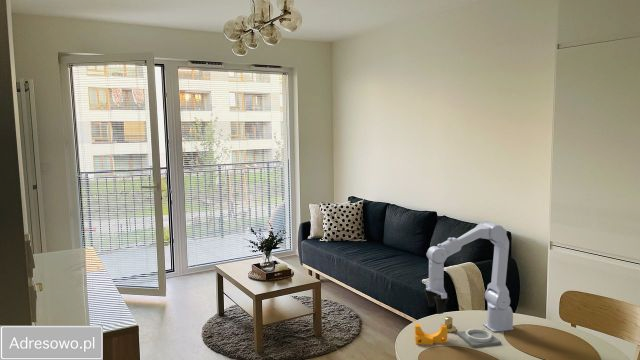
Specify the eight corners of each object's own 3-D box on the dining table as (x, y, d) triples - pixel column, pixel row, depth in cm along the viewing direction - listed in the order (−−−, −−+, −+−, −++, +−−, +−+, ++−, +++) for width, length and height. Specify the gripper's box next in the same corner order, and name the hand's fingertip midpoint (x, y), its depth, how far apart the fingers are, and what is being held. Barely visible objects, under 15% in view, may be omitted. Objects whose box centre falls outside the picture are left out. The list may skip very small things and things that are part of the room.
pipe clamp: (415, 344, 181) (416, 328, 181) (414, 339, 185) (414, 323, 185) (447, 345, 180) (448, 329, 179) (445, 340, 184) (446, 324, 184)
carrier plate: (483, 331, 192) (483, 326, 192) (501, 344, 180) (501, 338, 180) (456, 334, 189) (456, 329, 189) (472, 347, 178) (472, 342, 177)
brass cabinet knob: (451, 326, 197) (451, 314, 197) (458, 332, 192) (459, 320, 191) (438, 327, 196) (438, 315, 196) (445, 333, 190) (445, 321, 190)
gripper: (419, 272, 193) (418, 304, 195) (435, 283, 179) (434, 317, 181) (435, 270, 195) (434, 302, 196) (452, 281, 181) (451, 316, 182)
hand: (435, 309), depth 189 cm, fingers open, 7 cm apart
